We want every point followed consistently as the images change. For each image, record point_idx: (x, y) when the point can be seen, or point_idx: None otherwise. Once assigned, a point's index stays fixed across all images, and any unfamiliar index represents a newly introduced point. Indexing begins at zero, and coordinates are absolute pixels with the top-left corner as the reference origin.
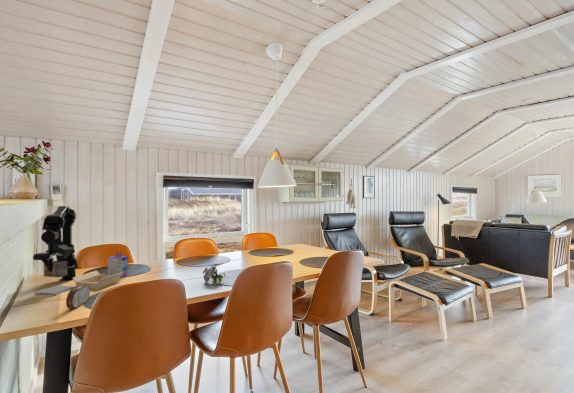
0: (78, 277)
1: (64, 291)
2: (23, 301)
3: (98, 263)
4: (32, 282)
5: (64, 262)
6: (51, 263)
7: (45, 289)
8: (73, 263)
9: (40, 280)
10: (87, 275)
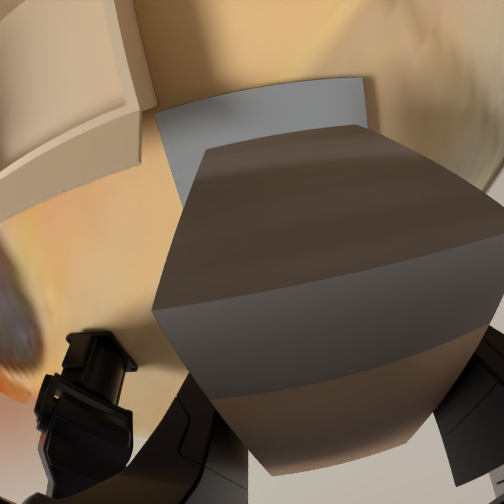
0: (84, 164)
1: (270, 85)
2: (462, 172)
3: (10, 394)
4: None
5: (299, 265)
6: (489, 353)
7: None
8: (55, 404)
9: None
10: (16, 190)
